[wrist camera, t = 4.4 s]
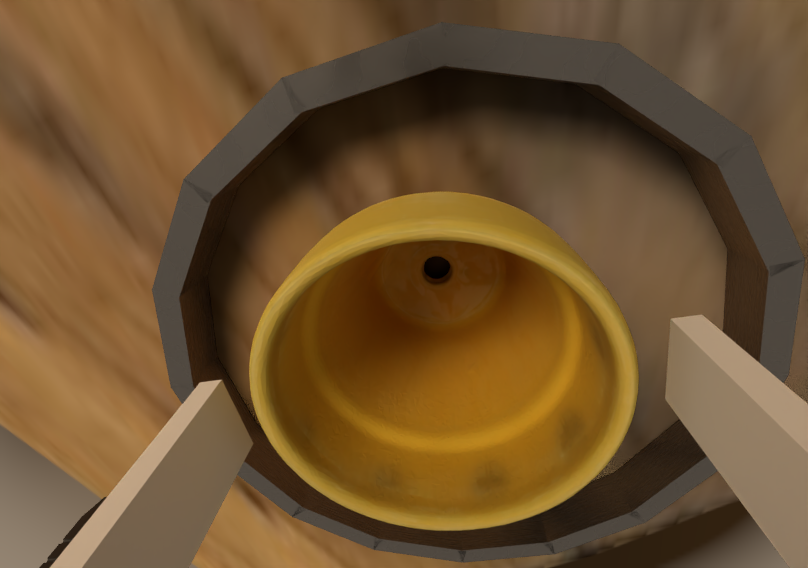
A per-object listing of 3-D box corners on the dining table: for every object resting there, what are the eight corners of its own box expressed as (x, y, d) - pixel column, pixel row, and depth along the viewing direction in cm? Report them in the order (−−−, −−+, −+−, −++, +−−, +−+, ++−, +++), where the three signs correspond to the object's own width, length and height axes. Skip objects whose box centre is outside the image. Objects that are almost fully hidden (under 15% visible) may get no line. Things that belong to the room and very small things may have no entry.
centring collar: (137, 410, 25) (108, 442, 23) (313, -143, 13) (288, -188, 11) (516, 570, 30) (522, 609, 28) (904, 263, 18) (971, 290, 16)
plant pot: (288, 216, 19) (160, 331, 10) (498, 105, 16) (570, 132, 7) (393, 377, 23) (365, 562, 14) (577, 309, 20) (687, 486, 11)
